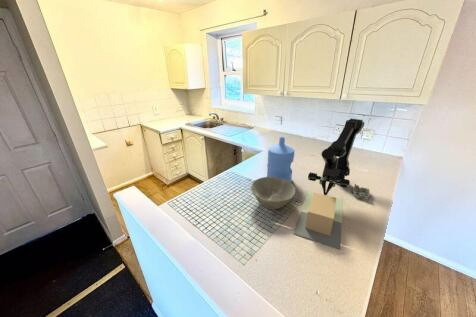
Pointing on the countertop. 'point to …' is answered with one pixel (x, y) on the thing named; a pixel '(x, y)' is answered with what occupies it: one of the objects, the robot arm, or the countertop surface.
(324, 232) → the kraft carton
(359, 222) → the countertop surface
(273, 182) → the ceramic bowl
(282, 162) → the water jug
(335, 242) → the board
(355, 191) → the egg carton
